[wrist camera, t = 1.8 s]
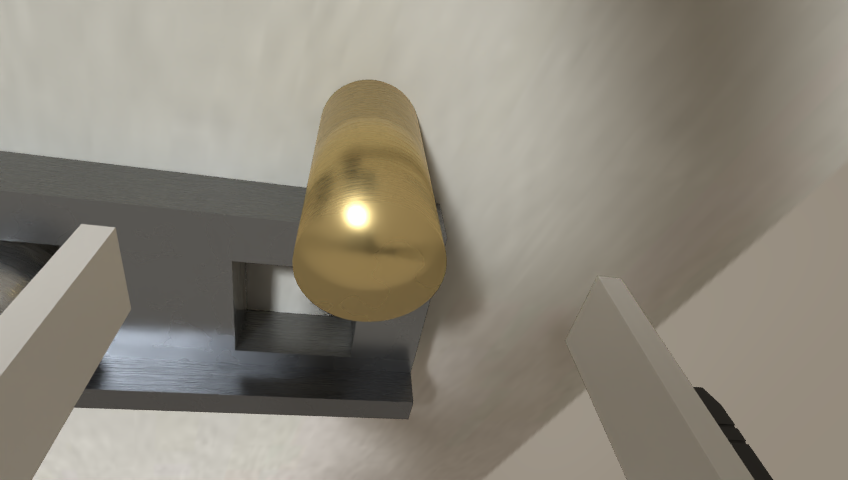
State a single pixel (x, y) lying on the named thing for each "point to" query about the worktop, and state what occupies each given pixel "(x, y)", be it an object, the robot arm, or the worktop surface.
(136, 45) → the worktop surface
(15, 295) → the silver metal cylinder
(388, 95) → the gold metal cylinder
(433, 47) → the worktop surface
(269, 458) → the worktop surface
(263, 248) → the jig
